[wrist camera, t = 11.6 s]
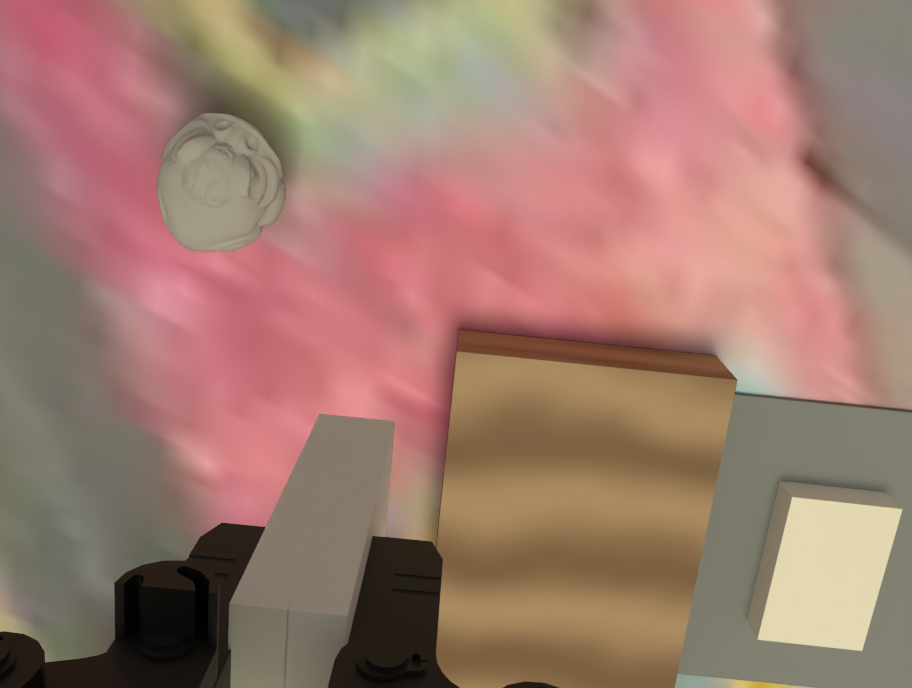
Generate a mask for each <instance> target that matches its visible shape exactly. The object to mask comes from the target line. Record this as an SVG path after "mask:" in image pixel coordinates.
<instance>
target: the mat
mask: <svg viewBox="0 0 912 688" xmlns="http://www.w3.org/2000/svg"><path fill="white" fill-rule="evenodd" d="M780 481H787V482H796V483H805V484H814V485H823V486H832V487H841V488H851V489H860V490H869V491H878V492H886V493H887V494H888V495H889V496H890V497H891V498H892V499H893V500H894V501H895V502H896V503H897V504H898V505H899V506H900V507H901V508H902V513H901V516H900V520H899V523H898V527H897V530H896V534H895V537H894V541H893V545H892V548H891V552H890V555H889V559H888V562H887V566H886V569H885V573H884V576H883V580H882V583H881V587H880V590H879V594H878V597H877V601H876V604H875V608H874V611H873V615H872V618H871V622H870V625H869V629H868V632H867V636H866V639H865V643H864V646H863V650H862V651H857V650H848V649H839V648H829V647H820V646H811V645H802V644H793V643H783V642H774V641H765V640H757V638H756V636H755V634H754V632H753V630H752V628H751V626H750V624H749V622H748V620H747V617H748V613H749V609H750V605H751V600H752V596H753V592H754V588H755V584H756V579H757V575H758V571H759V567H760V563H761V558H762V554H763V550H764V546H765V541H766V537H767V533H768V529H769V525H770V520H771V516H772V512H773V508H774V504H775V499H776V495H777V491H778V487H779V483H780ZM677 674H686V675H696V676H706V677H716V678H726V679H736V680H746V681H756V682H766V683H776V684H786V685H796V686H806V687H816V688H912V411H905V410H896V409H886V408H876V407H866V406H856V405H847V404H837V403H827V402H817V401H807V400H798V399H788V398H778V397H768V396H758V395H749V394H739V393H735V394H734V399H733V404H732V409H731V414H730V419H729V423H728V428H727V433H726V438H725V443H724V448H723V453H722V458H721V463H720V468H719V472H718V477H717V482H716V487H715V492H714V497H713V502H712V507H711V512H710V516H709V521H708V526H707V531H706V536H705V541H704V546H703V551H702V556H701V561H700V565H699V570H698V575H697V580H696V585H695V590H694V595H693V600H692V605H691V609H690V614H689V619H688V624H687V629H686V634H685V639H684V644H683V649H682V654H681V658H680V663H679V668H678V673H677Z"/></svg>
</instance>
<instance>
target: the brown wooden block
mask: <svg viewBox="0 0 912 688" xmlns="http://www.w3.org/2000/svg"><path fill="white" fill-rule="evenodd" d="M736 384H737V379H736V378H735V377H734V376H733V375H732V373H731V372H730V371H729V370H728V369H727V368H726V366H725V365H724V364H723V363H722V362H721V361H720V360H719V358H718V357H717V356H713V355H703V354H693V353H683V352H674V351H664V350H654V349H644V348H634V347H625V346H615V345H605V344H595V343H586V342H576V341H566V340H556V339H546V338H537V337H527V336H517V335H507V334H498V333H488V332H478V331H468V330H459V332H458V341H457V351H456V360H455V370H454V380H453V389H452V399H451V409H450V418H449V428H448V437H447V447H446V457H445V466H444V476H443V485H442V495H441V505H440V514H439V524H438V533H437V543H436V549H437V551H438V552H439V554H440V555H441V557H442V559H443V565H442V578H441V592H440V605H439V619H438V632H437V646H436V657H437V663H438V665H439V667H440V669H441V671H442V673H443V674H444V675H445V676H446V677H447V678H448V679H449V680H450V681H451V682H452V683H454V684H455V685H457V686H458V687H460V688H503V687H505V686H506V685H510V684H515V683H519V682H524V681H527V682H541V683H547V684H550V685H553V686H556V687H559V688H675V683H676V678H677V673H678V668H679V663H680V658H681V654H682V649H683V644H684V639H685V634H686V629H687V624H688V619H689V614H690V609H691V605H692V600H693V595H694V590H695V585H696V580H697V575H698V570H699V565H700V561H701V556H702V551H703V546H704V541H705V536H706V531H707V526H708V521H709V516H710V512H711V507H712V502H713V497H714V492H715V487H716V482H717V477H718V472H719V468H720V463H721V458H722V453H723V448H724V443H725V438H726V433H727V428H728V423H729V419H730V414H731V409H732V404H733V399H734V394H735V389H736Z"/></svg>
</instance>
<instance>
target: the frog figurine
mask: <svg viewBox="0 0 912 688" xmlns="http://www.w3.org/2000/svg"><path fill="white" fill-rule="evenodd" d="M162 160H163V162H162V165H161V168H160V171H159V175H158V181H157V194H158V201H159V206H160V210H161V215H162V218H163V220H164V222H165V225H166V227H167V228H168V230H169V231H170V233H171V234H172V235H173V237H174V238H175V239H176V240H177V241H178V242H179V243H180V244H181V245H183V246H184V248H188V249H190V250H194V251H200V252H211V251H218V250H219V251H233V250H237V249H240V248H243V247H245V246H247V245H248V244H250V243H251V242H253V241H254V240H255V239H257V238H258V237H259V236H260V234H261V232H262V226H267V225H271V224H273V223H274V222H275V221H276V219H277V218H278V216H279V214H280V213H281V211H282V208H283V205H284V201H285V194H286V188H285V184H284V182H283V181H282V180H281V178H282V177H283V172H282V169H283V167H282V164H281V162H280V160H279V158H278V156H277V155H276V154H275V152H274V151H273V149H272V148H271V147H270V145H269V144H268V142H267V140H266V139H265V138H264V136H263V135H262V133H261V132H260V131H259V130H258V129H257V127H256V126H255V125H253V124H250V123H248V122H247V120H245V119H241V118H238V117H236V116H234V115H230V114H222V113H203V114H200V115H199V116H198V117H196V118H195V119H193V120H192V121H191V122H189V123H187V124H185V125H184V126H183V127H182V128H181V129H180V130H179V131H178V132H177V133H176V134H174V135H173V136H172V137H171V139H170V140H169V142H168V143H167V145H166V147H165V149H164V151H163V157H162Z"/></svg>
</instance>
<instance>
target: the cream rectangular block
mask: <svg viewBox="0 0 912 688" xmlns="http://www.w3.org/2000/svg"><path fill="white" fill-rule="evenodd" d="M901 513H902V508H901V507H900V506H899V505H898V504H897V503H896V502H895V501H894V500H893V499H892V498H891V497H890V496H889V495H888V494H887V493H886V492H878V491H869V490H860V489H851V488H841V487H832V486H823V485H814V484H805V483H796V482H787V481H780V483H779V487H778V491H777V495H776V499H775V504H774V508H773V512H772V516H771V520H770V525H769V529H768V533H767V537H766V541H765V546H764V550H763V554H762V558H761V563H760V567H759V571H758V575H757V579H756V584H755V588H754V592H753V596H752V600H751V605H750V609H749V613H748V617H747V620H748V622H749V624H750V626H751V628H752V630H753V632H754V634H755V636H756V638H757V640H765V641H774V642H783V643H793V644H802V645H811V646H820V647H829V648H839V649H848V650H857V651H862V650H863V646H864V643H865V639H866V636H867V632H868V629H869V625H870V622H871V618H872V615H873V611H874V608H875V604H876V601H877V597H878V594H879V590H880V587H881V583H882V580H883V576H884V573H885V569H886V566H887V562H888V559H889V555H890V552H891V548H892V545H893V541H894V537H895V534H896V530H897V527H898V523H899V520H900V516H901Z"/></svg>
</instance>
